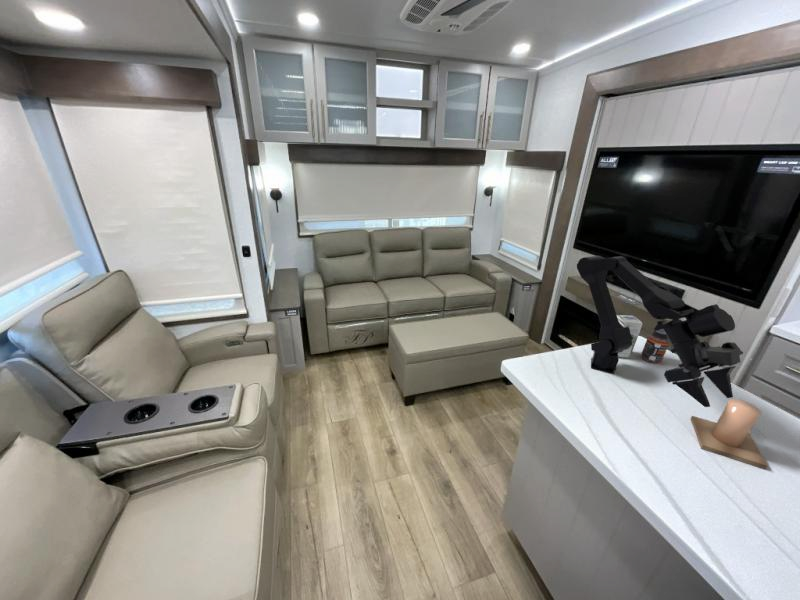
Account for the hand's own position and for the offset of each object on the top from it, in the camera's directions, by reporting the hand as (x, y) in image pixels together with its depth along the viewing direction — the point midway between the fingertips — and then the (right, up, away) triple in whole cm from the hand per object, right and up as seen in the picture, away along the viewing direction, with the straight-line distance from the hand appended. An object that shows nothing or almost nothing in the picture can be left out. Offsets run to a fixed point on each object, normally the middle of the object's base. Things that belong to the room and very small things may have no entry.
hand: (719, 402), depth 76 cm
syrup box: (0, +6, +36) cm, 36 cm away
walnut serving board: (+2, -10, 0) cm, 10 cm away
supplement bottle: (+10, +4, +33) cm, 35 cm away
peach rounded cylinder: (+1, -9, 0) cm, 9 cm away
